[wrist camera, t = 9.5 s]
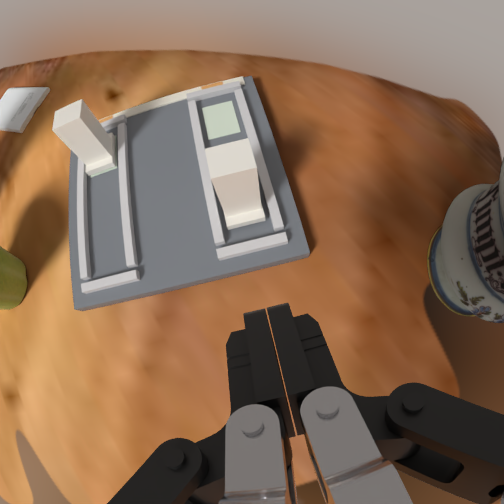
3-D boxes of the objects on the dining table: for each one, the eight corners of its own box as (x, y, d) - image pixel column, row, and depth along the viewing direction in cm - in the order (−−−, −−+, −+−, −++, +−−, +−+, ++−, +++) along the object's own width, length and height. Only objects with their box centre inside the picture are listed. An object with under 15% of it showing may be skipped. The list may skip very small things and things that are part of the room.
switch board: (82, 311, 28) (69, 308, 26) (78, 138, 34) (69, 128, 32) (308, 257, 28) (311, 250, 26) (252, 84, 34) (250, 70, 32)
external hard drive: (13, 92, 40) (52, 92, 38) (-12, 130, 38) (24, 135, 36) (9, 87, 39) (47, 85, 37) (-17, 125, 37) (18, 129, 35)
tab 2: (228, 229, 27) (211, 190, 20) (219, 188, 28) (201, 140, 21) (265, 220, 27) (261, 177, 20) (254, 179, 28) (247, 128, 21)
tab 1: (89, 175, 30) (50, 137, 23) (89, 146, 31) (55, 105, 24) (115, 166, 30) (80, 123, 23) (115, 136, 31) (83, 92, 24)
